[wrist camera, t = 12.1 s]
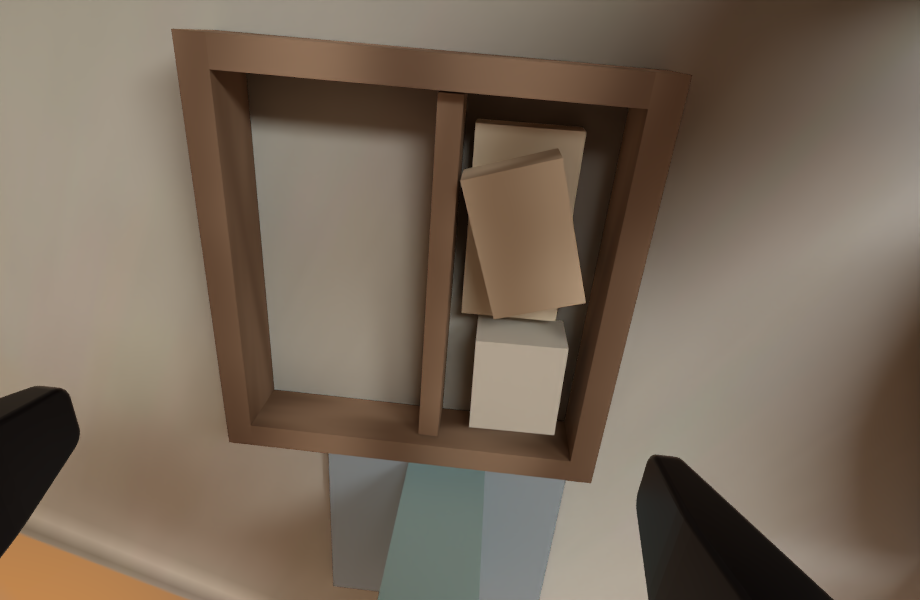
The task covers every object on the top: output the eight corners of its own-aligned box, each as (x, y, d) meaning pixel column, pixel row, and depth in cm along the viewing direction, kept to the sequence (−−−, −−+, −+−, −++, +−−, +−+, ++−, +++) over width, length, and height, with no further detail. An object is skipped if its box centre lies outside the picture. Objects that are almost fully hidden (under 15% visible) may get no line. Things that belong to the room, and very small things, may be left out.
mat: (570, 445, 24) (571, 451, 24) (536, 603, 29) (536, 610, 29) (329, 418, 25) (327, 424, 24) (335, 579, 30) (333, 586, 29)
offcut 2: (558, 147, 18) (562, 158, 16) (580, 283, 20) (585, 302, 18) (463, 169, 18) (460, 181, 17) (494, 299, 20) (493, 319, 19)
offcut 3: (562, 318, 22) (568, 348, 20) (549, 398, 24) (554, 435, 22) (478, 311, 22) (475, 340, 20) (472, 391, 24) (469, 427, 22)
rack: (668, 70, 17) (692, 75, 15) (582, 441, 24) (590, 483, 22) (213, 29, 18) (171, 28, 16) (254, 405, 25) (229, 441, 23)
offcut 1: (580, 124, 19) (586, 131, 18) (552, 302, 22) (555, 321, 21) (477, 116, 19) (475, 123, 18) (464, 294, 22) (461, 312, 21)
